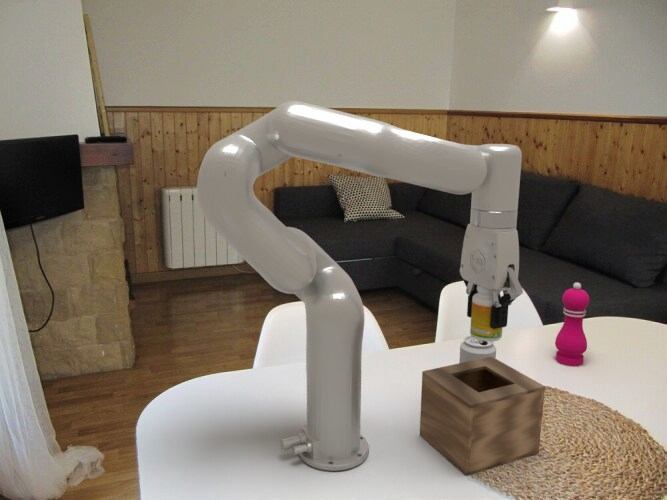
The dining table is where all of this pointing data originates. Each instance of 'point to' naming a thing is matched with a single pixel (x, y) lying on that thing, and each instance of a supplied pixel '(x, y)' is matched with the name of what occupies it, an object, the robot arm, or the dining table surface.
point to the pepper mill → (572, 327)
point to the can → (476, 349)
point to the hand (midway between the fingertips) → (486, 320)
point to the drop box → (481, 413)
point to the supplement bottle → (483, 316)
